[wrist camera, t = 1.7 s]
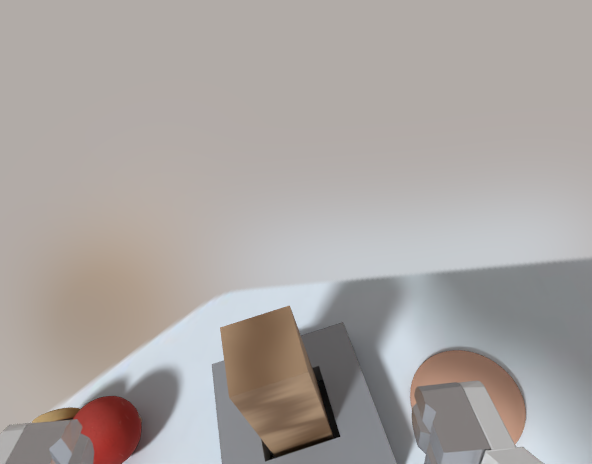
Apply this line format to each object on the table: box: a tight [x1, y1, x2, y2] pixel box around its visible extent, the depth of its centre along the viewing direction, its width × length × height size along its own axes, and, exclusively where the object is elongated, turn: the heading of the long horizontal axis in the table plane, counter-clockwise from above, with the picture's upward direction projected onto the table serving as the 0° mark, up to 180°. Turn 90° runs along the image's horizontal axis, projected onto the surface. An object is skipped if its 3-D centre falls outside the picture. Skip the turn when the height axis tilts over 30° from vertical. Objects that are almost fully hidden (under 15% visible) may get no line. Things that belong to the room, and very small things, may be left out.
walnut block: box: [220, 306, 334, 458], centre depth 32 cm, size 5×5×14 cm
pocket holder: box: [212, 322, 397, 464], centre depth 36 cm, size 13×13×3 cm
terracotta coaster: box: [410, 350, 526, 444], centre depth 35 cm, size 9×9×1 cm
